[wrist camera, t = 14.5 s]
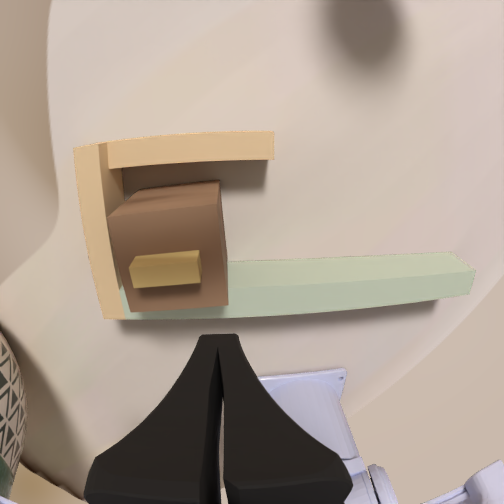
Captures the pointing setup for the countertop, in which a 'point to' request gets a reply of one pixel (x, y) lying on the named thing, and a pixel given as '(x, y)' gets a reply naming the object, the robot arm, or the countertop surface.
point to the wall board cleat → (249, 272)
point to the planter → (10, 417)
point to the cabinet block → (172, 247)
